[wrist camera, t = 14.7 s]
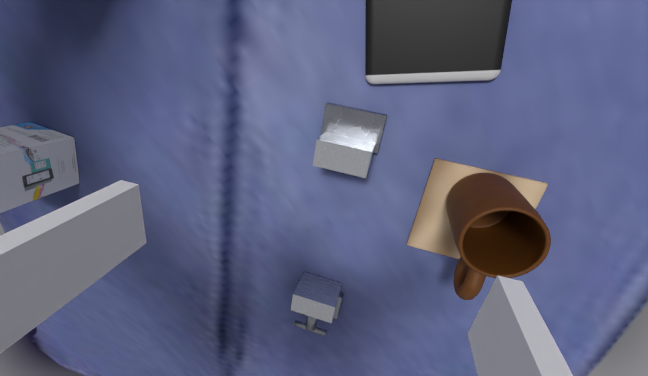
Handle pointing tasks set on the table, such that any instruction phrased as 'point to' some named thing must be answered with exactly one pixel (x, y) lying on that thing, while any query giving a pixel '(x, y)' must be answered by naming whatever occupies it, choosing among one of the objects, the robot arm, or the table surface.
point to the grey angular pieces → (347, 157)
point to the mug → (493, 232)
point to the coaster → (432, 214)
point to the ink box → (34, 163)
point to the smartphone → (435, 40)
